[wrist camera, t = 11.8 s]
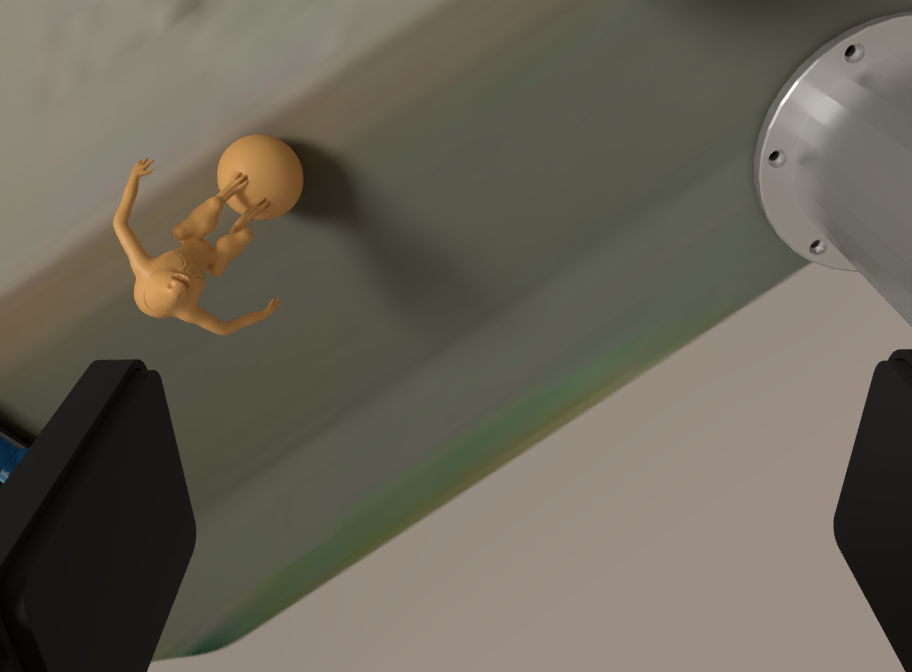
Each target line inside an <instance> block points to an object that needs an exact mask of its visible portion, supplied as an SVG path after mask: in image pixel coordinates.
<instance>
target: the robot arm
mask: <svg viewBox="0 0 912 672" xmlns="http://www.w3.org/2000/svg"><path fill="white" fill-rule="evenodd" d="M850 45H851V46H852V49H851V51H850V52H849V53H848V54H846V55H845V52H846V49H847V48H848V47H849V46H850ZM774 151H776V154H775V156H773V157H771V158H769V156H770V154H771V153H773V152H774ZM754 183H755V188H756V192H757V196H758V201H759V204H760V206H761V208H762V210H763V213H764V215H765V217H766V219H767V221H768V223H769V224H770V225H771V226H772V228H773V229H774V230H775V232H776V233H777V234H778V236H779V237H780V238H781V239H782V240H783V241H784V242H785V243H786V244H787V245H788V246H789V247H791V248H792V249H793V250H794V251H795V252H796V253H798V254H800V255H801V256H803V257H804V258H806V259H807V260H809V261H812V262H814V263H818V264H820V265H823V266H826V267H829V268H832V269H839V270H846V271H854V272H858V271H859V272H860V273H861V274H862V275H863V276H864V278H866V280H867V281H868V282H869V283H870V284H871V285H872V286H873V287H874V288H875V289H876V290H877V291H878V292H879V293H880V294H881V295H882V296H883V297H884V298H885V299H886V300H887V302H888V303H889V304H890V305H891V306H892V307H893V308H894V309H895V310H896V311H897V312H898V313H899V314H900V315H901V316H902V317H903V318H904V319H905V320H906V321H907V323H908V324H909V325H910V326H911V327H912V11H910V12H899V13H895V14H891V15H887V16H882V17H878V18H874V19H872V20H869V21H867V22H865V23H862V24H860V25H858V26H856V27H853V28H851V29H849V30H847V31H845V32H843V33H842V34H840V35H839V36H837V37H836V38H834V39H832V40H831V41H829V42H828V43H826V44H825V45H823V46H822V47H821V48H819V49H818V50H817V51H816V52H815V53H814V54H813V55H812V56H810V57H809V58H808V59H807V60H806V61H805V62H804V63H802V64H801V65H800V66H799V68H798V69H797V70H796V71H795V72H794V74H793V75H792V76H791V77H790V78H789V80H788V81H787V82H786V83H785V84H784V86H783V87H782V88H781V90H780V92H779V93H778V95H777V97H776V98H775V100H774V102H773V104H772V105H771V107H770V109H769V110H768V112H767V115H766V118H765V120H764V123H763V125H762V128H761V131H760V133H759V136H758V142H757V147H756V152H755V158H754ZM814 241H815V242H814ZM813 242H814V243H813ZM812 243H813V244H812ZM833 528H834V535H835V539H836V542H837V545H838V547H839V549H840V551H841V553H842V554H843V556H844V558H845V560H846V562H847V564H848V566H849V568H850V569H851V571H852V573H853V574H854V577H855V579H856V580H857V582H858V584H859V586H860V588H861V590H862V591H863V594H864V595H865V597H866V599H867V601H868V603H869V604H870V606H871V608H872V610H873V612H874V614H875V616H876V618H877V620H878V621H879V623H880V625H881V627H882V629H883V630H884V632H885V634H886V636H887V638H888V640H889V642H890V644H891V646H892V647H893V649H894V651H895V653H896V655H897V657H898V659H899V660H900V662H901V664H902V666H903V668H904V670H905V671H906V672H912V349H905V350H904V349H901V350H899V349H898V350H896V351H894V352H893V353H892V355H891V356H890V357H889V359H888V361H881V362H879V363H878V365H877V366H876V368H875V371H874V374H873V377H872V381H871V385H870V388H869V392H868V395H867V399H866V403H865V406H864V410H863V414H862V417H861V421H860V425H859V428H858V432H857V436H856V439H855V443H854V446H853V450H852V454H851V457H850V461H849V465H848V468H847V472H846V475H845V479H844V483H843V487H842V490H841V494H840V497H839V501H838V505H837V509H836V512H835V516H834V527H833ZM195 541H196V524H195V519H194V515H193V511H192V507H191V502H190V498H189V494H188V490H187V485H186V481H185V477H184V473H183V468H182V464H181V460H180V456H179V452H178V447H177V443H176V439H175V435H174V430H173V426H172V422H171V418H170V414H169V409H168V405H167V401H166V397H165V392H164V388H163V384H162V380H161V377H160V375H159V373H158V372H157V371H155V370H147V367H146V366H145V364H144V362H143V361H141V360H139V359H133V360H96V361H94V362H93V363H92V364H90V366H89V367H88V368H87V370H86V371H85V372H84V374H83V375H82V377H81V378H80V379H79V381H78V382H77V383H76V385H75V386H74V388H73V389H72V390H71V392H70V393H69V394H68V396H67V397H66V399H65V400H64V401H63V403H62V404H61V405H60V407H59V408H58V410H57V411H56V412H55V414H54V415H53V416H52V418H51V419H50V421H49V422H48V423H47V425H46V426H45V427H44V429H43V430H42V431H41V433H40V434H39V436H38V437H37V438H36V440H35V441H34V442H33V444H32V445H31V447H30V448H29V449H28V451H27V452H26V453H25V455H24V456H23V458H22V459H21V460H20V462H19V463H18V464H17V466H16V467H15V469H14V470H13V471H12V473H11V474H10V475H9V477H8V478H7V479H6V481H5V482H4V484H3V485H2V486H1V488H0V672H147V670H148V667H149V665H150V662H151V660H152V657H153V654H154V652H155V649H156V647H157V644H158V642H159V639H160V636H161V634H162V631H163V629H164V626H165V623H166V621H167V618H168V616H169V613H170V611H171V608H172V605H173V603H174V600H175V598H176V595H177V592H178V590H179V587H180V585H181V582H182V579H183V577H184V574H185V572H186V569H187V567H188V564H189V561H190V559H191V556H192V554H193V551H194V547H195Z"/></svg>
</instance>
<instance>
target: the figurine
mask: <svg viewBox="0 0 912 672" xmlns="http://www.w3.org/2000/svg"><path fill="white" fill-rule="evenodd" d="M147 160H148V158H146V159H144V160H140V161H139V162H138V163H137V164H136V165H135V167H134V168H133V170H132V172H131V175H130V179H129V182H128V184H127V186H126V188H125V191H124V194H123V198H122V201H121V204H120V207H119V209H118V211H117V213H116V215H115V217H114V221H113V226H114V229H115V232H116V234H117V236H118V238H119V240H120V242H121V244H122V246H123V248H124V250H125V251H126V253H127V255H128V257H129V260H130V264H131V267H132V270H133V272H134V274H135V276H136V283H135V288H134V297H135V301H136V303H137V305H138V307H139V308H140V310H141V311H143V312H144V313H145V314H147V315H149V316H152V317H155V318H166V317H178V318H180V319H182V320H184V321H186V322H190V323H195V324H197V325H199V326H201V327H203V328H205V329H207V330H209V331H212V332H214V333H216V334H219V335H229V334H231V333H233V332H235V331H236V330H238V329H240V328H242V327H245V326H248V325H250V324H253V323H256V322H258V321H260V320H261V319H264V318H266V317H268V316H269V315H271V314H272V313H273V312H274V311H275V310H276V308H277V307H278V306H279V304H280V303H281V301H279V300H280V298H281V297H279V298H278V299H277V300H276V301H275V302H274V303H273V301H274V299H272V300H271V301H270V303H269V305H268V307H267V308H266V309H265V310H264V311H258V312H252V313H249V314H247V315H244V316H242V317H240V318H238V319H234V320H232V321H230V322H228V323H226V324H225V323H223V322H222V321H220V320H219V319H218V318H216V317H214V316H213V315H211V314H210V313H208V312H206V311H205V310H203V309H201V308H200V307H199V306H198V299H199V297H200V295H201V292H202V291H203V289H204V284H205V276H204V275H205V269H207V270H208V272H209V273H210V274H211V275H212V276H214V277H220V276H221V275H222V274H223V273H224V270H225V269H226V267H227V266H228V264H229V263H230V262H231V261H232V260H233V259H235V258H236V257H237V256H238V255H239V254H240V253H241V252H242V251H243V250H244V248H245V247H246V246H247V245H248V244H249V243H250V242H251V241H252V239H253V233H252V230H251V229H250V228H247V227H246V226H247V225H248V224H249V223H250V222H251V221H252V220H253V219H256V220H268V219H273V218H277V217H279V216H281V215H283V214H285V213H286V212H288V211H289V210H290V209H291V208H292V207H293V206H294V205H295V204H296V202H297V201H298V199H299V197H300V195H301V192H302V188H303V181H304V177H303V170H302V166H301V163H300V161H299V159H298V157H297V155H296V154H295V152H294V151H293V150H292V149H291V148H290V147H289V146H288V145H287V144H285V143H284V142H283V141H281V140H279V139H277V138H275V137H272V136H268V135H259V134H258V135H249V136H246V137H243V138H241V139H239V140H237V141H235V142H234V143H233V144H231V145H230V146H229V147H228V148H227V149H226V151H225V152H224V154H223V155H222V157H221V160H220V162H219V166H218V172H217V179H218V185H219V189H220V191H221V192H220V193H219V194H218V195H217V196H215V197H211V198H209V199H208V200H207V201H206V202H204V203H203V204H201V205H199V206H198V207H197V208H196V209H195V210H194V211H193V212H192V213H191V214H190V216H189V217H188V218H187V219H186V220H185V221H183V222H182V223H180V224H178V225H177V226H176V227H175V228H174V230H173V235H174V237H175V238H176V239H178V240H179V241H180V242H182V246H181V247H180V248H178V249H175V250H173V251H169V252H166V253H164V254H162V255H161V256H159V257H157V258H152V257H150V256H148V255H147V253H146V252H145V250H144V249H143V247H142V245H141V244H140V242H139V241H138V239H137V238H136V236H135V235H134V233H133V232H132V230H131V229H130V228H129V226H128V224H127V222H128V219H129V217H130V214H131V209H132V206H133V203H134V201H135V199H136V196H137V191H138V183H139V178H140V177H141V176H143V175H147V174H149V173H151V172H152V171H153V169H151V170H148V171H145V170H146V169H147V168H148V167H149V166H150V164H151V163H153V162H154V160H152V161H150V162H148V163H147V164H146V165H144V164H145V163H146V162H147ZM140 163H141V164H140ZM225 202H227V203H228V204H229V206H230V207H231V208H233V209H234V210H235V211H236V212H238V213H239V214H241V215H242V216H241V217H240V218H239V219H238V220H237V221H236V223H235V224H234V225H233V227H232V229H231V230H230V234H227V235H224V236H222V237H221V238H220V239H219V240H218V241H217V242H216V244H215V245H214V247H213V248H211V247H210V243H209V242H208V241H207V240H203V239H202V237H204V236H205V235H207V234H209V233H210V232H211V231H213V230H214V228H215V227H216V225H217V222H218V216H219V214H220V212H221V210H222V208H223V204H224V203H225ZM272 303H273V304H272Z"/></svg>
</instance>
